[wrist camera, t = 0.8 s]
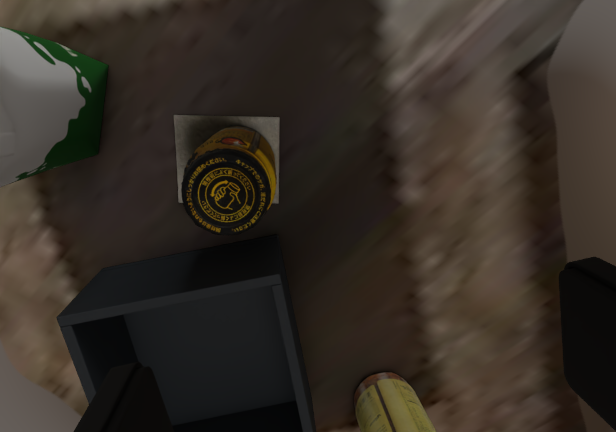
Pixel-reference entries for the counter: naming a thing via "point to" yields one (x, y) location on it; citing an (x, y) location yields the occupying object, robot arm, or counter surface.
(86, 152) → the milk carton
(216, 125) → the condiment
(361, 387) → the sauce bottle
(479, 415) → the counter surface
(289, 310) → the dark grey open box
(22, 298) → the counter surface
